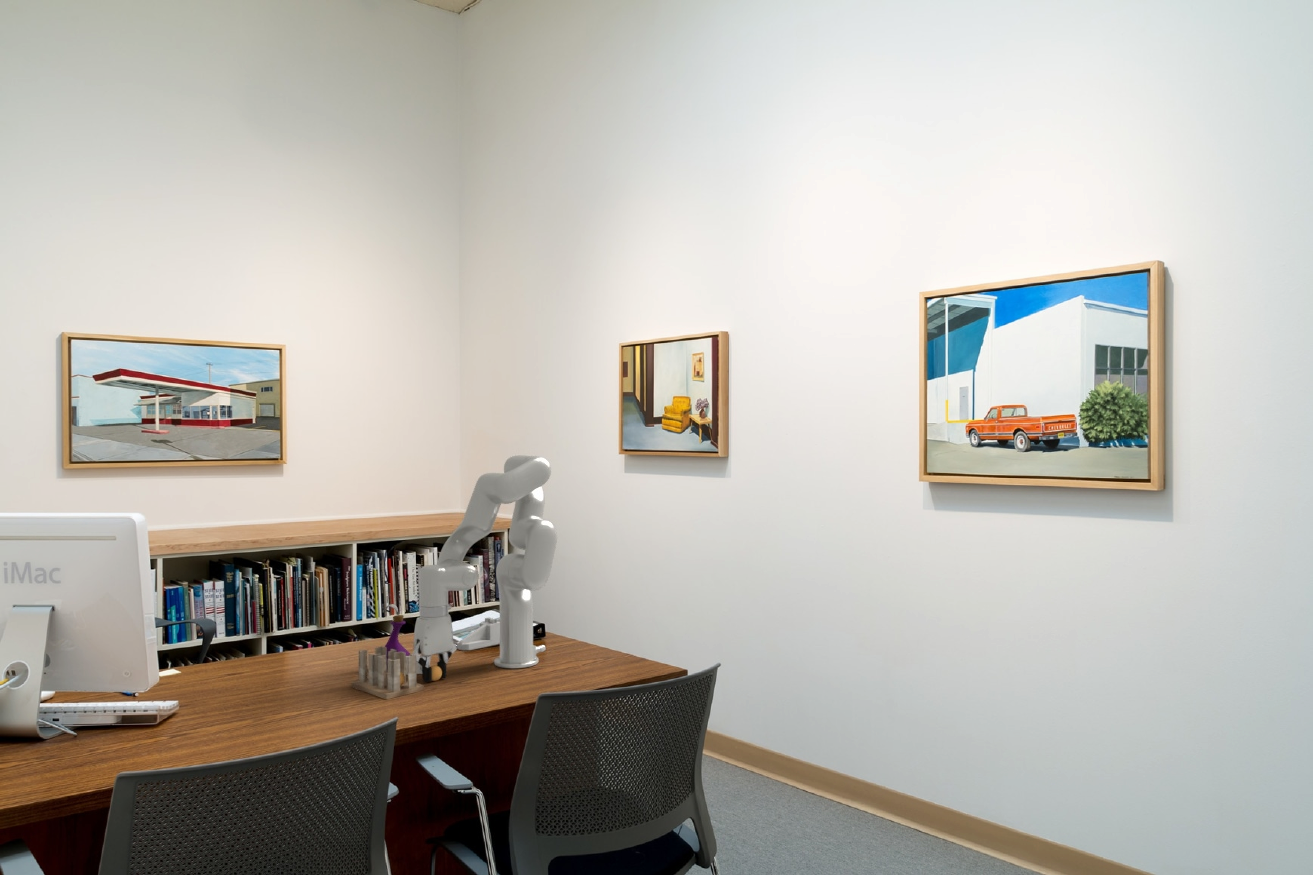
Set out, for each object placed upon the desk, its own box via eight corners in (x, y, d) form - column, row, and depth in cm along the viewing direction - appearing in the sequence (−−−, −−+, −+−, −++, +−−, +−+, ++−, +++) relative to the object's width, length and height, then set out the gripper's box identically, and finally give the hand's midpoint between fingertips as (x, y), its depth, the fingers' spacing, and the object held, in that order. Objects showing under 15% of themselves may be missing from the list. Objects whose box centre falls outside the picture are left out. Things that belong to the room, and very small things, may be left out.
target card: (398, 674, 249) (398, 656, 249) (428, 672, 251) (428, 654, 251) (398, 675, 249) (398, 657, 249) (428, 673, 251) (428, 655, 251)
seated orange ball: (399, 683, 236) (399, 668, 236) (408, 686, 233) (408, 671, 233) (385, 687, 233) (385, 671, 233) (394, 690, 230) (394, 674, 230)
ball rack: (387, 678, 246) (387, 644, 246) (424, 689, 235) (423, 654, 235) (350, 686, 238) (350, 651, 237) (386, 699, 226) (386, 662, 226)
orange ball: (436, 677, 246) (436, 662, 246) (445, 680, 244) (445, 665, 244) (423, 680, 243) (423, 665, 243) (432, 683, 241) (432, 668, 241)
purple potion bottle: (410, 664, 260) (410, 602, 260) (400, 671, 253) (400, 607, 252) (385, 664, 261) (385, 601, 261) (375, 671, 253) (374, 606, 253)
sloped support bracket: (454, 648, 280) (454, 622, 280) (501, 638, 293) (501, 614, 293) (465, 651, 276) (464, 625, 276) (512, 641, 289) (512, 616, 289)
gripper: (451, 605, 252) (451, 670, 252) (399, 614, 240) (399, 683, 240) (467, 608, 247) (468, 675, 247) (415, 618, 235) (415, 688, 235)
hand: (434, 678), depth 243 cm, fingers closed on orange ball, 3 cm apart
